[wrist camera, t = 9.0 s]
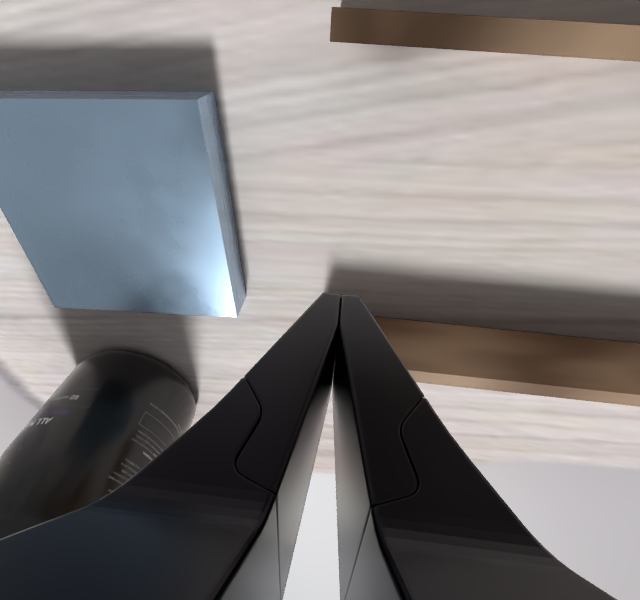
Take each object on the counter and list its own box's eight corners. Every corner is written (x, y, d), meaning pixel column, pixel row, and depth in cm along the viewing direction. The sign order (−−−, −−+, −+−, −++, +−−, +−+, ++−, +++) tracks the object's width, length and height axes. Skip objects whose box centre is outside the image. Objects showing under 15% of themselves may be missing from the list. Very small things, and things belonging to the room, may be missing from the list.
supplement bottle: (74, 329, 19) (-224, 643, 9) (206, 367, 20) (54, 695, 10) (83, 407, 23) (-118, 682, 13) (192, 436, 24) (75, 717, 14)
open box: (1080, 55, 9) (1325, 66, 7) (750, 365, 16) (817, 425, 14) (339, 10, 10) (331, 6, 8) (319, 321, 17) (312, 371, 15)
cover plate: (218, 89, 12) (196, 99, 11) (249, 289, 17) (237, 317, 15) (-8, 88, 13) (-60, 98, 11) (83, 281, 18) (55, 307, 16)
